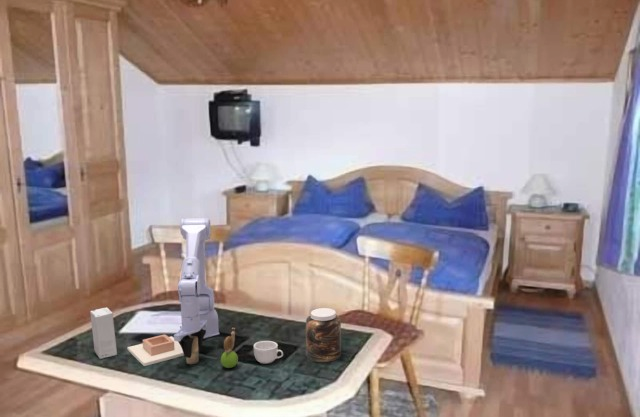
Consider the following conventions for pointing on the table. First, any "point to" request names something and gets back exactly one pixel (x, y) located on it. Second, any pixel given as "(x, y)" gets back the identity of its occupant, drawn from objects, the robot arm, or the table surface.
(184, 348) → the robot arm
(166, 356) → the socket board
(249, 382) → the table surface
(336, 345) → the jar
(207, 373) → the table surface
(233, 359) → the snail figurine
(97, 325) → the skincare box
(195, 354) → the maple peg
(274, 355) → the teacup
